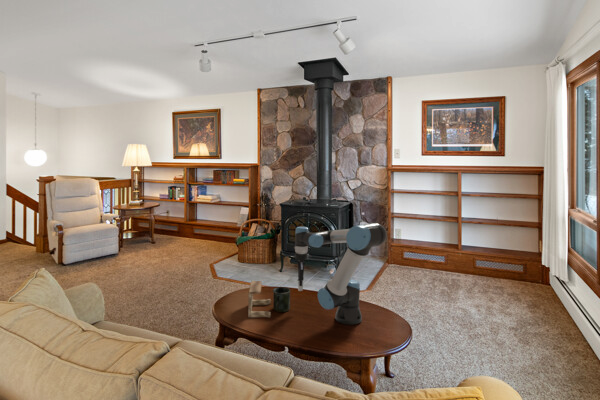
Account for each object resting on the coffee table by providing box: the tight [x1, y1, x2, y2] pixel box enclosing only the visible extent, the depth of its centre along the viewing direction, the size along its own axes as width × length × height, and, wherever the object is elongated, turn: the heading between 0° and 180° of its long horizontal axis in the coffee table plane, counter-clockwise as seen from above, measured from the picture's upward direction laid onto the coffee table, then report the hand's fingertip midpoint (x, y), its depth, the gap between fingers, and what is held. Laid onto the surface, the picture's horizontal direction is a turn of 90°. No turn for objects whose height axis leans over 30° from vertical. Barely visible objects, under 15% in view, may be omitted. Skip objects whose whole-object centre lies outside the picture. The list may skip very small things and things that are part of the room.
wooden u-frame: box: [247, 280, 272, 319], centre depth 216 cm, size 13×21×15 cm, turn 5°
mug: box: [272, 286, 292, 313], centre depth 217 cm, size 11×15×12 cm
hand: (300, 290), depth 218 cm, fingers closed
